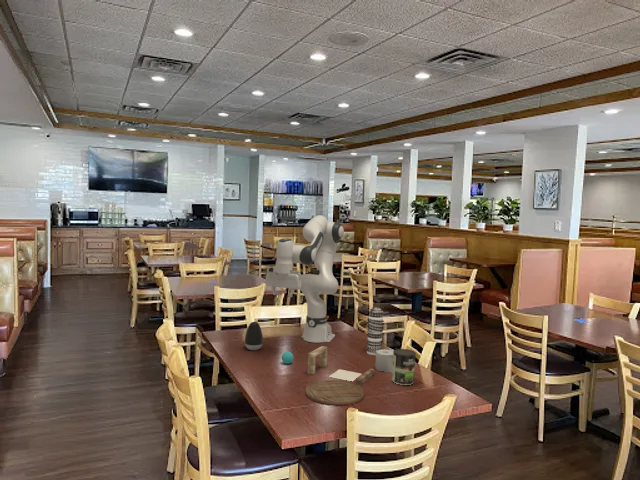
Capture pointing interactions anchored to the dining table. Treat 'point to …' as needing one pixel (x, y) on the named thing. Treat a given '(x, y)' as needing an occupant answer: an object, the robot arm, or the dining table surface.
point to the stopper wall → (364, 377)
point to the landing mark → (345, 375)
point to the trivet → (334, 392)
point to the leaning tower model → (375, 330)
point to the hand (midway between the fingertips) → (282, 296)
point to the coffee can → (403, 366)
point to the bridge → (312, 358)
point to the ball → (287, 357)
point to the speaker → (253, 336)
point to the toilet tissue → (384, 360)
